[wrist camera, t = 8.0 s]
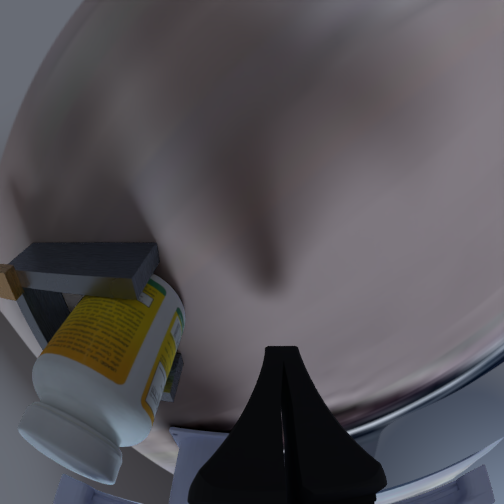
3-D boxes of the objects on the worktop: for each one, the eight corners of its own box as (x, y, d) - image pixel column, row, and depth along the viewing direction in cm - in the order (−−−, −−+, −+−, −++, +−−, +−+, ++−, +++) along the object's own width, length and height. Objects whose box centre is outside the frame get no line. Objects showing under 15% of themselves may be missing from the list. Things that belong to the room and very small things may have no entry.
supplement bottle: (206, 326, 15) (165, 500, 6) (137, 347, 16) (84, 480, 8) (146, 244, 13) (30, 423, 4) (82, 281, 14) (-11, 412, 5)
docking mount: (184, 366, 17) (171, 415, 13) (75, 348, 17) (54, 386, 14) (155, 236, 12) (121, 284, 9) (29, 238, 13) (-11, 271, 9)
